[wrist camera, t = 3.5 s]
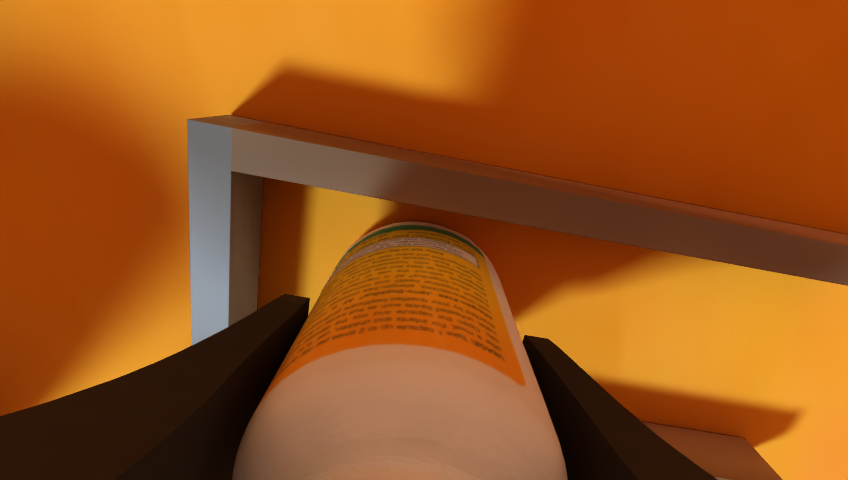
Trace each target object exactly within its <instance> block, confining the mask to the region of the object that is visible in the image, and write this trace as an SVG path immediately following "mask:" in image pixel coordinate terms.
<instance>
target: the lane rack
mask: <svg viewBox="0 0 848 480" xmlns="http://www.w3.org/2000/svg"><path fill="white" fill-rule="evenodd" d="M187 122H188V173H189V225H190V277H191V329H192V345H194V344H196V343H198V342H200V341H202V340H204V339H206V338H208V337H210V336H212V335H214V334H216V333H218V332H219V331H221V330H223V329H225V328H227V327H229V326H230V325H232V324H234V323H236V322H237V321H239V320H241V319H243V318H244V317H246V316H248V315H250V314H252V313H253V312H255V311H257V298H258V277H259V256H260V235H261V214H262V192H263V177H266V178H272V179H277V180H283V181H288V182H293V183H299V184H304V185H309V186H315V187H320V188H326V189H331V190H336V191H342V192H347V193H352V194H358V195H363V196H369V197H374V198H379V199H385V200H390V201H395V202H401V203H406V204H412V205H417V206H422V207H428V208H433V209H438V210H444V211H449V212H455V213H460V214H465V215H471V216H476V217H481V218H487V219H492V220H498V221H503V222H508V223H514V224H519V225H524V226H530V227H535V228H541V229H546V230H551V231H557V232H562V233H567V234H573V235H578V236H584V237H589V238H594V239H600V240H605V241H610V242H616V243H621V244H627V245H632V246H637V247H643V248H648V249H653V250H659V251H664V252H670V253H675V254H680V255H686V256H691V257H696V258H702V259H707V260H713V261H718V262H723V263H729V264H734V265H739V266H745V267H750V268H756V269H761V270H766V271H772V272H777V273H782V274H788V275H793V276H799V277H804V278H809V279H815V280H820V281H825V282H831V283H836V284H842V285H847V286H848V235H847V234H842V233H837V232H832V231H827V230H822V229H816V228H811V227H806V226H801V225H796V224H791V223H785V222H780V221H775V220H770V219H765V218H760V217H754V216H749V215H744V214H739V213H734V212H729V211H723V210H718V209H713V208H708V207H703V206H698V205H692V204H687V203H682V202H677V201H672V200H667V199H661V198H656V197H651V196H646V195H641V194H636V193H630V192H625V191H620V190H615V189H610V188H605V187H599V186H594V185H589V184H584V183H579V182H574V181H568V180H563V179H558V178H553V177H548V176H543V175H537V174H532V173H527V172H522V171H517V170H511V169H506V168H501V167H496V166H491V165H486V164H480V163H475V162H470V161H465V160H460V159H455V158H449V157H444V156H439V155H434V154H429V153H424V152H418V151H413V150H408V149H403V148H398V147H393V146H387V145H382V144H377V143H372V142H367V141H362V140H356V139H351V138H346V137H341V136H336V135H331V134H325V133H320V132H315V131H310V130H305V129H300V128H294V127H289V126H284V125H279V124H274V123H269V122H263V121H258V120H253V119H248V118H243V117H238V116H232V115H223V116H214V117H205V118H196V119H187ZM642 423H643V424H645V425H646V426H647V427H648V428H649V429H651V430H652V431H653V432H654V433H656V434H657V435H658V436H659V437H661V438H662V439H663V440H664V441H666V442H667V443H668V444H670V445H671V446H672V447H674V448H675V449H676V450H678V451H679V452H680V453H682V454H683V455H684V456H686V457H687V458H688V459H690V460H691V461H693V462H694V463H695V464H697V465H698V466H699V467H701V468H702V469H703V470H705V471H706V472H708V473H709V474H711V475H712V476H713V477H715V478H716V479H718V480H782V479H781V477H780V476H779V475H778V474H777V473H776V472H775V471H774V470H773V469H772V468H771V467H770V465H769V464H768V463H767V462H766V461H765V460H764V459H763V458H762V457H761V456H760V455H759V453H758V452H757V451H756V450H755V449H754V448H753V447H752V446H751V445H750V444H749V442H748V441H747V440H746V439H745V438H740V437H734V436H728V435H722V434H716V433H709V432H703V431H697V430H691V429H685V428H678V427H672V426H666V425H660V424H654V423H647V422H642Z"/></svg>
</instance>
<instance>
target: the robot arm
mask: <svg viewBox="0 0 848 480" xmlns="http://www.w3.org/2000/svg"><path fill="white" fill-rule="evenodd" d="M309 301H310V298H306V297H300V296H294V295H288V294H284V295H282V296H280V297H279V298H277V299H275V300H273V301H272V302H270V303H268V304H267V305H265V306H263V307H262V308H260V309H258V310H257V311H255V312H253V313H252V314H250V315H248V316H246V317H244V318H243V319H241V320H239V321H237V322H236V323H234V324H232V325H230V326H229V327H227V328H225V329H223V330H221V331H219V332H218V333H216V334H214V335H212V336H210V337H208V338H206V339H204V340H202V341H200V342H198V343H196V344H194V345H192V346H190V347H188V348H186V349H184V350H182V351H180V352H178V353H176V354H174V355H171V356H169V357H167V358H165V359H162V360H160V361H158V362H156V363H153V364H151V365H148V366H146V367H144V368H141V369H139V370H136V371H134V372H131V373H129V374H127V375H124V376H121V377H119V378H116V379H114V380H111V381H108V382H105V383H102V384H99V385H96V386H93V387H90V388H88V389H85V390H82V391H79V392H76V393H73V394H70V395H67V396H65V397H62V398H59V399H56V400H53V401H50V402H47V403H44V404H40V405H37V406H34V407H30V408H27V409H24V410H20V411H17V412H14V413H10V414H7V415H4V416H0V480H232V477H233V469H234V463H235V459H236V455H237V451H238V448H239V445H240V442H241V440H242V437H243V435H244V432H245V430H246V428H247V426H248V423H249V421H250V419H251V418H252V416H253V414H254V412H255V410H256V409H257V407H258V405H259V403H260V401H261V400H262V398H263V396H264V394H265V393H266V391H267V389H268V387H269V386H270V384H271V382H272V380H273V378H274V377H275V375H276V373H277V371H278V370H279V368H280V366H281V364H282V362H283V361H284V359H285V357H286V355H287V353H288V352H289V350H290V348H291V346H292V344H293V342H294V341H295V339H296V337H297V335H298V334H299V332H300V330H301V328H302V327H303V325H304V323H305V321H306V319H307V317H308V311H309ZM522 343H523V345H524V348H525V350H526V353H527V356H528V358H529V361H530V364H531V366H532V369H533V372H534V374H535V377H536V380H537V383H538V385H539V388H540V390H541V393H542V396H543V398H544V401H545V404H546V407H547V409H548V412H549V415H550V418H551V420H552V423H553V426H554V429H555V432H556V434H557V437H558V440H559V443H560V446H561V450H562V454H563V457H564V461H565V465H566V471H567V478H568V480H718V479H716V478H715V477H713V476H712V475H711V474H709V473H708V472H706V471H705V470H703V469H702V468H701V467H699V466H698V465H697V464H695V463H694V462H693V461H691V460H690V459H688V458H687V457H686V456H684V455H683V454H682V453H680V452H679V451H678V450H676V449H675V448H674V447H672V446H671V445H670V444H668V443H667V442H666V441H664V440H663V439H662V438H661V437H659V436H658V435H657V434H656V433H654V432H653V431H652V430H651V429H649V428H648V427H647V426H646V425H645V424H643V423H642V422H641V421H640V420H639V419H637V418H636V417H635V416H634V415H633V414H631V413H630V412H629V411H628V410H627V409H626V408H624V407H623V406H622V405H621V404H620V403H619V402H618V401H616V400H615V399H614V398H613V397H612V396H611V395H610V394H609V393H608V392H606V391H605V390H604V389H603V388H602V387H601V386H600V385H599V384H598V383H597V382H595V381H594V380H593V379H592V378H591V377H590V376H589V375H588V374H587V373H586V372H585V371H584V370H583V369H582V368H580V367H579V366H578V365H577V364H576V363H575V362H574V361H573V360H572V359H571V358H570V357H569V356H568V355H566V354H565V353H564V352H563V351H562V350H561V349H560V348H559V347H558V346H556V345H555V344H554V343H553V342H551V341H550V340H549V339H546V338H540V337H534V336H528V335H525V336H524V339H523V342H522Z"/></svg>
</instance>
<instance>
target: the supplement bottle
mask: <svg viewBox="0 0 848 480" xmlns="http://www.w3.org/2000/svg"><path fill="white" fill-rule="evenodd" d="M232 480H568V478H567V471H566V465H565V461H564V457H563V454H562V450H561V446H560V443H559V440H558V437H557V434H556V432H555V429H554V426H553V423H552V420H551V418H550V415H549V412H548V409H547V407H546V404H545V401H544V398H543V396H542V393H541V390H540V388H539V385H538V383H537V380H536V377H535V374H534V372H533V369H532V366H531V364H530V361H529V358H528V356H527V353H526V350H525V348H524V345H523V343H522V340H521V338H520V335H519V332H518V329H517V327H516V324H515V321H514V318H513V315H512V312H511V310H510V307H509V304H508V301H507V298H506V295H505V292H504V290H503V287H502V284H501V281H500V279H499V277H498V275H497V272H496V270H495V268H494V267H493V265H492V263H491V261H490V260H489V258H488V257H487V256H486V254H485V253H484V252H483V251H482V250H481V249H480V248H479V247H478V246H477V245H476V244H475V243H474V242H473V241H471V240H470V239H469V238H467V237H466V236H464V235H463V234H460V233H458V232H456V231H454V230H451V229H449V228H446V227H443V226H440V225H436V224H431V223H426V222H415V221H409V222H399V223H393V224H389V225H386V226H383V227H380V228H378V229H375V230H373V231H371V232H369V233H368V234H366V235H365V236H363V237H362V238H360V239H359V240H357V241H356V242H355V243H354V244H353V245H352V246H351V247H350V248H349V249H348V250H347V251H346V252H345V254H344V255H343V257H342V258H341V260H340V261H339V263H338V264H337V266H336V267H335V269H334V271H333V273H332V275H331V277H330V278H329V280H328V282H327V283H326V285H325V287H324V288H323V290H322V292H321V294H320V296H319V298H318V300H317V302H316V303H315V305H314V307H313V309H312V310H311V312H310V314H309V316H308V317H307V319H306V321H305V323H304V325H303V327H302V328H301V330H300V332H299V334H298V335H297V337H296V339H295V341H294V342H293V344H292V346H291V348H290V350H289V352H288V353H287V355H286V357H285V359H284V361H283V362H282V364H281V366H280V368H279V370H278V371H277V373H276V375H275V377H274V378H273V380H272V382H271V384H270V386H269V387H268V389H267V391H266V393H265V394H264V396H263V398H262V400H261V401H260V403H259V405H258V407H257V409H256V410H255V412H254V414H253V416H252V418H251V419H250V421H249V423H248V426H247V428H246V430H245V432H244V435H243V437H242V440H241V442H240V445H239V448H238V451H237V455H236V459H235V463H234V469H233V477H232Z"/></svg>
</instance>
